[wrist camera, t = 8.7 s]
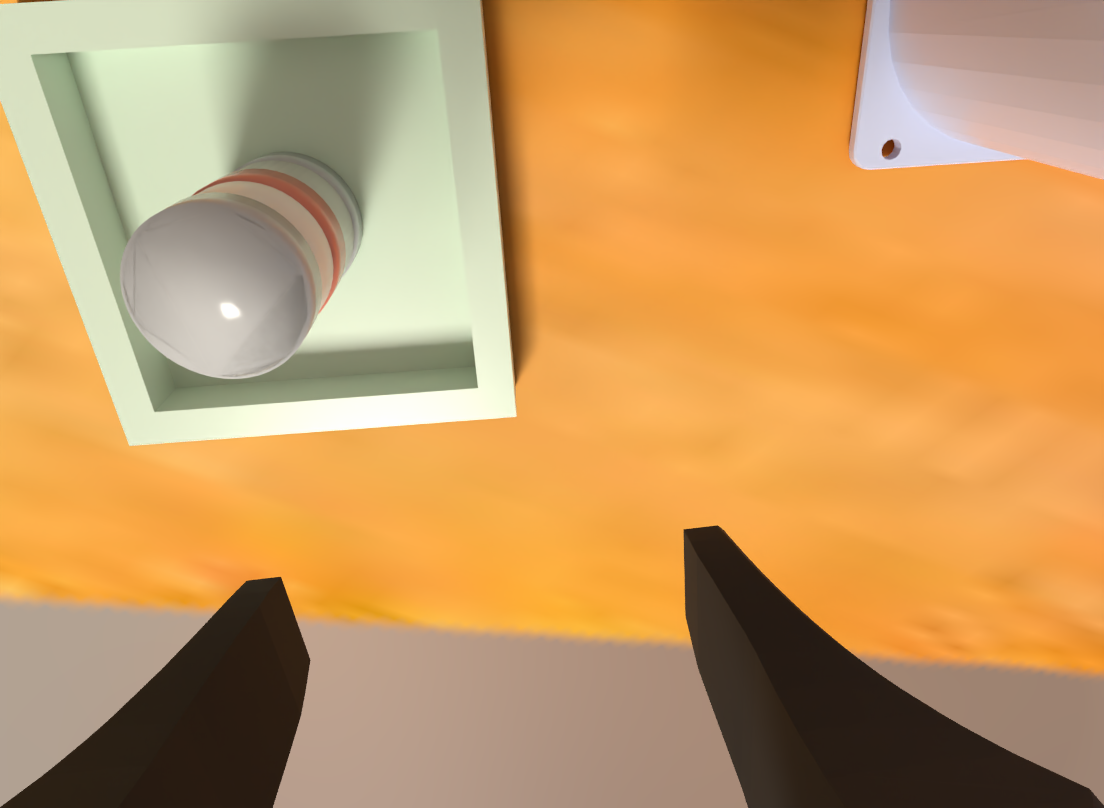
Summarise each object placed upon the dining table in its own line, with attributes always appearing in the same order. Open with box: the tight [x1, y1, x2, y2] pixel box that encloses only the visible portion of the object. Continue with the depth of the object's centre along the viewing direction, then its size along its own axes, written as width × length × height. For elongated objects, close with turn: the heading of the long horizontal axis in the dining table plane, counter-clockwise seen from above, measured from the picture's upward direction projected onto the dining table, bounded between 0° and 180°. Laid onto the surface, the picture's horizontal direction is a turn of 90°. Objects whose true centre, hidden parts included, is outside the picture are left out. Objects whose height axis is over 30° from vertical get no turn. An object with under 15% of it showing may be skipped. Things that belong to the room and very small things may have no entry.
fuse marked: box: [120, 152, 363, 379], centre depth 17 cm, size 4×4×6 cm
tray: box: [0, 0, 516, 446], centre depth 19 cm, size 11×11×2 cm
